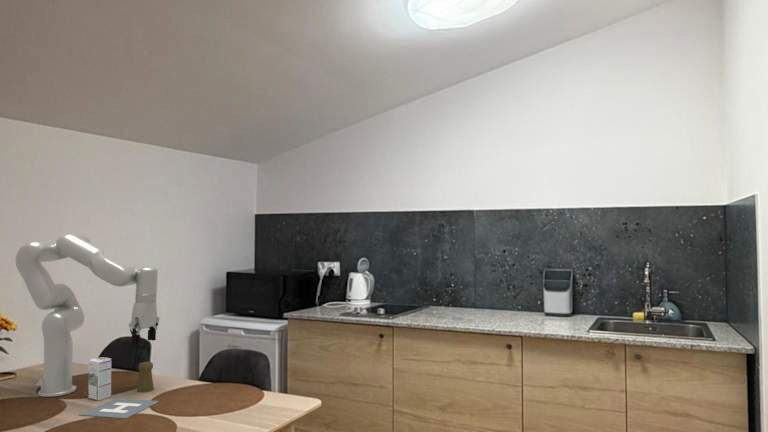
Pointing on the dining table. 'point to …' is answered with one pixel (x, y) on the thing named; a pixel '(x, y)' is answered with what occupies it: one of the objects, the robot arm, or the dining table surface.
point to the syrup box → (99, 378)
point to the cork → (145, 377)
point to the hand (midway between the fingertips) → (143, 342)
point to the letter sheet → (119, 408)
